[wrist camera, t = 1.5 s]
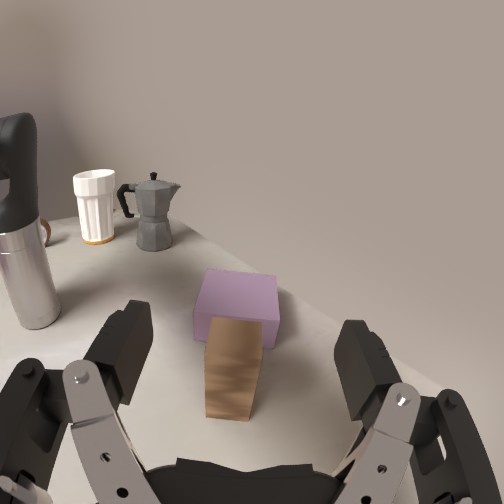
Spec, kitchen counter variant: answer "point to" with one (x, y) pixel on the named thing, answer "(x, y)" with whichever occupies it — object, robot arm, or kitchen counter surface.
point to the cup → (95, 205)
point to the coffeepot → (151, 211)
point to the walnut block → (232, 367)
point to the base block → (237, 302)
